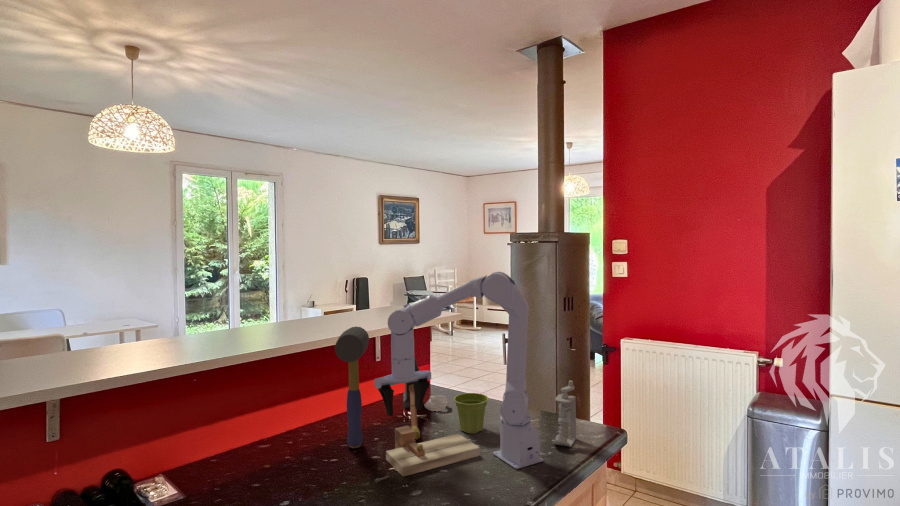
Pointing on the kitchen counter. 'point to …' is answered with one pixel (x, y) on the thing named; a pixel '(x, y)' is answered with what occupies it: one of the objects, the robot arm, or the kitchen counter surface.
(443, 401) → the pale grey rock
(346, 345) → the rubber mallet
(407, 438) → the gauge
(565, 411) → the clamp
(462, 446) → the board
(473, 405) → the plant pot
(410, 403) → the hammer
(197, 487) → the kitchen counter surface
